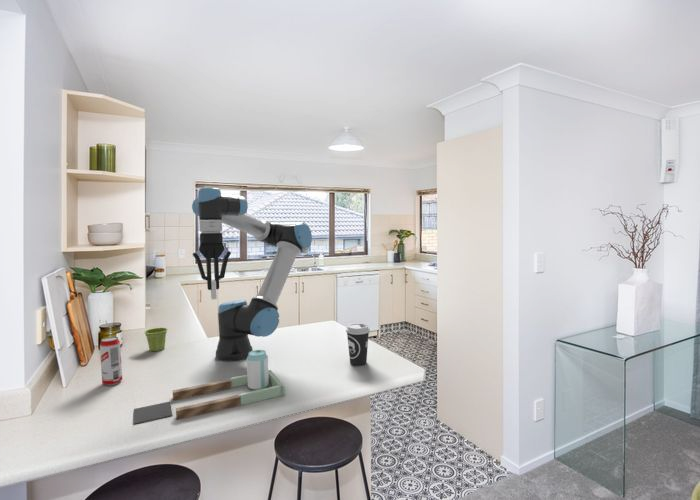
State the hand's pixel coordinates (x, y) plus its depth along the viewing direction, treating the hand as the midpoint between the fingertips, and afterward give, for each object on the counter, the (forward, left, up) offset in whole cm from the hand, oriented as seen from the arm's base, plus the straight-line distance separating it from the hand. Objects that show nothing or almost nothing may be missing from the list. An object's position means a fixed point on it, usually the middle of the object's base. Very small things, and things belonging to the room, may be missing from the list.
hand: (213, 298), depth 140 cm
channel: (+10, -15, -29) cm, 34 cm away
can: (+18, +1, -30) cm, 35 cm away
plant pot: (-50, +14, -30) cm, 60 cm away
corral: (+19, -2, -29) cm, 35 cm away
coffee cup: (+40, +35, -30) cm, 61 cm away
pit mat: (+1, -27, -29) cm, 40 cm away
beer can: (-32, -18, -30) cm, 47 cm away
